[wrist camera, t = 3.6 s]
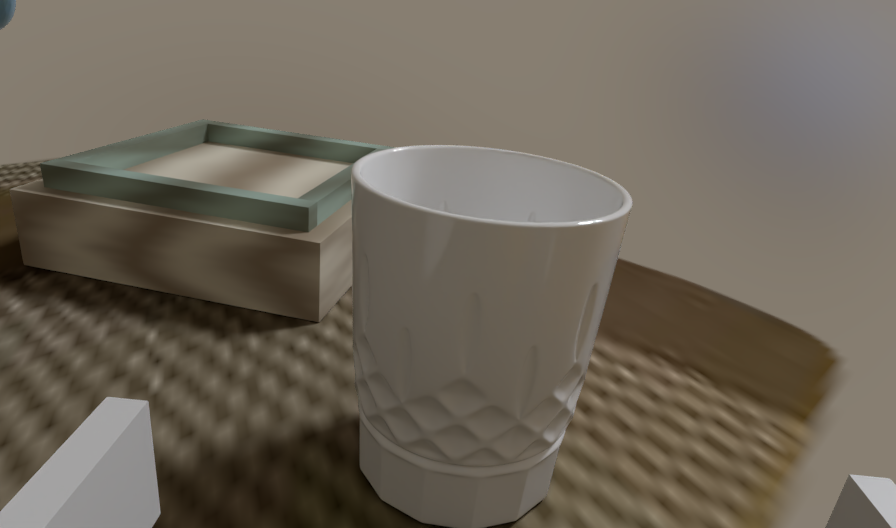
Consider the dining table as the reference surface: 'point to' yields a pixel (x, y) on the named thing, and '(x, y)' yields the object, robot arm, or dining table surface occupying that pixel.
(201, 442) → the dining table surface
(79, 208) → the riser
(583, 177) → the white cup
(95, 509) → the robot arm
